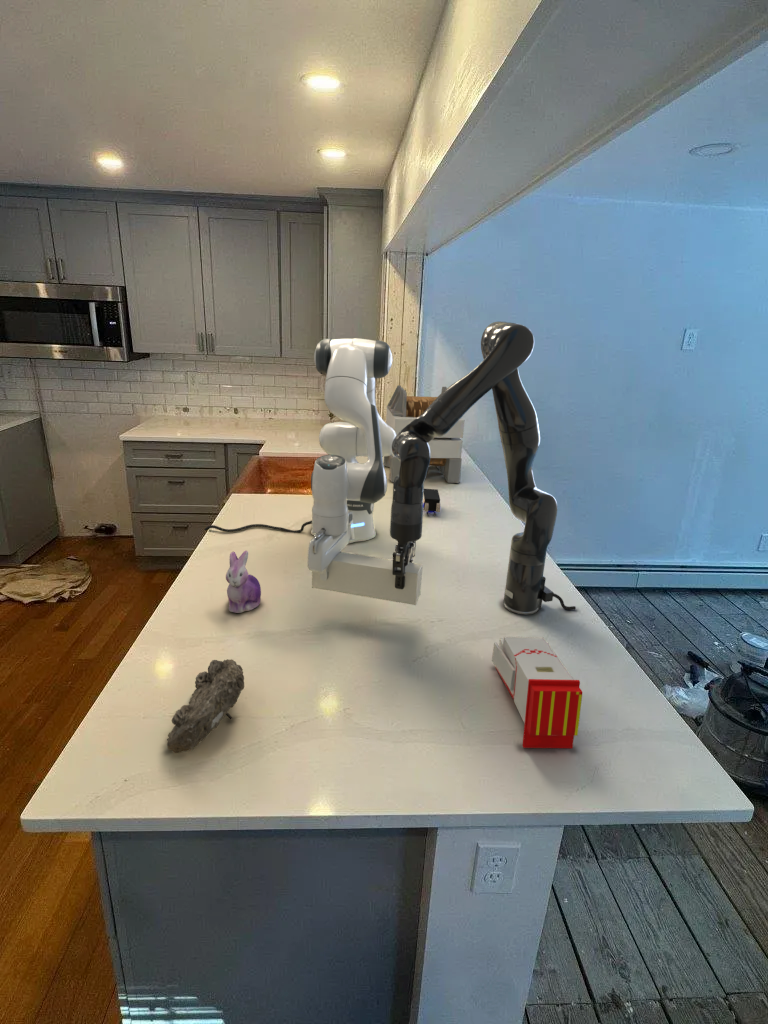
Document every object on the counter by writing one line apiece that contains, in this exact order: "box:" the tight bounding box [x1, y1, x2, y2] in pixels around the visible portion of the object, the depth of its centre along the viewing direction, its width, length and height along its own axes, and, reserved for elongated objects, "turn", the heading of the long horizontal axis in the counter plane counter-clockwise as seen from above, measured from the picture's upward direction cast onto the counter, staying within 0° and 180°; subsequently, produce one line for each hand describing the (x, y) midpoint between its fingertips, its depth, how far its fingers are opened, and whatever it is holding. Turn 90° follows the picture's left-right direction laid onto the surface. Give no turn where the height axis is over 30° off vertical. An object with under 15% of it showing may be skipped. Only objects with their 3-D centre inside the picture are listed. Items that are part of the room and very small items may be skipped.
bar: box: [311, 551, 423, 606], centre depth 140 cm, size 27×6×8 cm, turn 74°
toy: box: [491, 636, 583, 749], centre depth 115 cm, size 12×13×30 cm
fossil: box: [166, 658, 245, 754], centre depth 106 cm, size 22×10×15 cm
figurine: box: [225, 550, 262, 614], centre depth 146 cm, size 9×10×15 cm
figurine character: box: [423, 488, 441, 517], centre depth 222 cm, size 7×8×15 cm
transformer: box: [383, 384, 465, 484], centre depth 268 cm, size 34×33×41 cm
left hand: (329, 573), depth 143 cm, fingers closed on bar, 5 cm apart
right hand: (403, 582), depth 138 cm, fingers open, 6 cm apart
